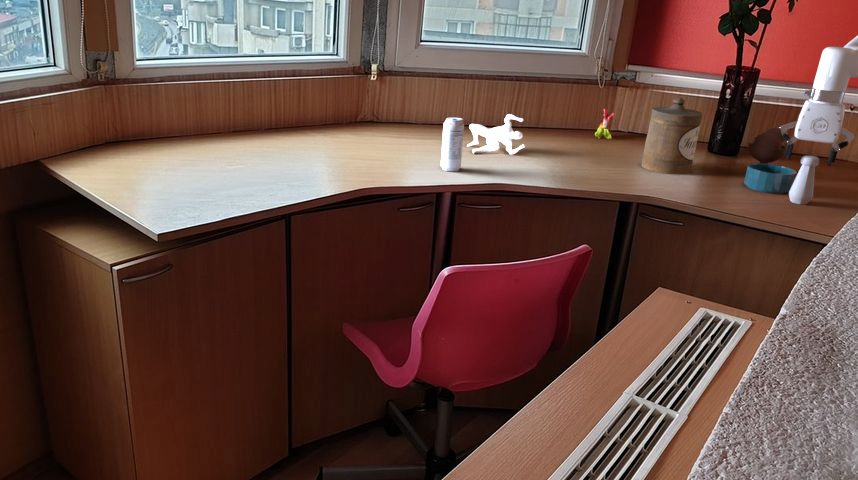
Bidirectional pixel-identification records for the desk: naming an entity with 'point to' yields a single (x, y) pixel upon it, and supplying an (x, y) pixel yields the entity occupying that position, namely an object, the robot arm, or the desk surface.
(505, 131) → the person figurine
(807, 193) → the salt shaker
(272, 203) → the desk surface
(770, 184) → the bowl
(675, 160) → the wooden container
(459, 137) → the energy drink can
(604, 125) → the bird rattle
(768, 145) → the brown rounded lumpy piece
